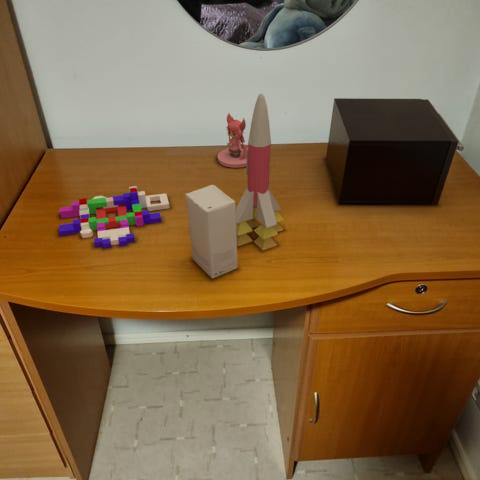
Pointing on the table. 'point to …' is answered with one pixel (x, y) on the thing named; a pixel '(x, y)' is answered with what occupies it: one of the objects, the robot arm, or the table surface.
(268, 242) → the toy rocket
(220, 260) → the cosmetic box
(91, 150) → the table surface
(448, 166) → the oven door
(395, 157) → the oven
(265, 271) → the table surface
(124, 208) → the building block set
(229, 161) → the toy figure
